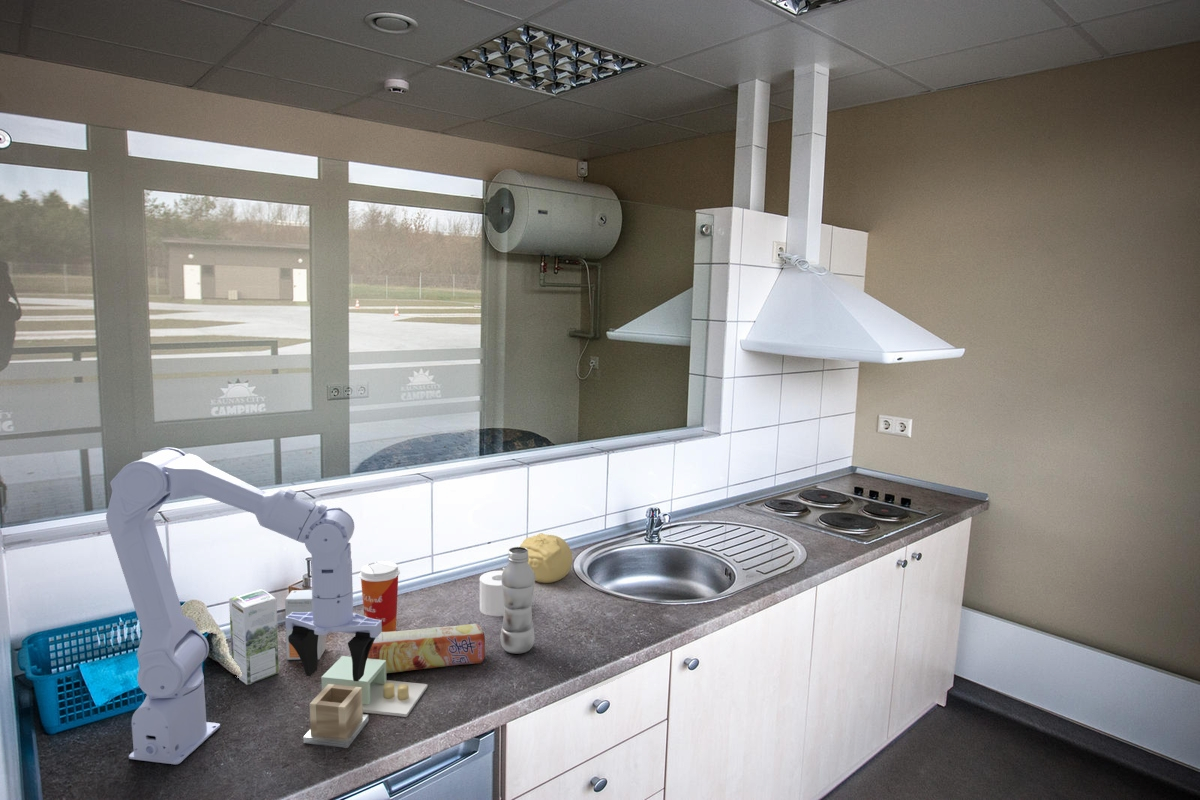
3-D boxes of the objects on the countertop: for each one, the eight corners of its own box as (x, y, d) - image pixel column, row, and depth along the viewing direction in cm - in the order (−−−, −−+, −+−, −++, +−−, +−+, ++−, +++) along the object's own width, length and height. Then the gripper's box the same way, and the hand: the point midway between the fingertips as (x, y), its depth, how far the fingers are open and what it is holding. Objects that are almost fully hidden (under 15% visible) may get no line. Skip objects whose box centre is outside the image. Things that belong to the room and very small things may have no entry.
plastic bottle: (519, 638, 143) (520, 541, 140) (541, 650, 138) (543, 551, 135) (493, 648, 138) (493, 549, 135) (514, 662, 133) (515, 559, 130)
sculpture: (512, 578, 172) (512, 535, 170) (547, 564, 181) (548, 523, 180) (546, 592, 165) (546, 547, 163) (581, 577, 174) (582, 534, 172)
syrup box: (264, 662, 131) (260, 587, 129) (280, 674, 127) (276, 596, 125) (232, 674, 127) (227, 597, 124) (247, 687, 123) (243, 607, 121)
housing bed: (406, 717, 115) (406, 703, 115) (319, 707, 117) (318, 694, 117) (427, 686, 124) (427, 674, 124) (345, 678, 126) (345, 666, 126)
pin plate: (347, 748, 107) (346, 726, 107) (303, 742, 108) (302, 721, 108) (368, 720, 114) (368, 700, 114) (327, 716, 115) (326, 695, 115)
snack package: (480, 650, 137) (480, 616, 137) (486, 666, 131) (486, 631, 130) (363, 663, 131) (363, 628, 130) (363, 681, 124) (363, 644, 124)
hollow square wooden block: (345, 738, 108) (344, 707, 107) (310, 734, 109) (309, 703, 108) (362, 716, 114) (361, 687, 113) (329, 713, 114) (328, 683, 114)
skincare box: (286, 661, 132) (283, 599, 130) (293, 649, 136) (291, 589, 134) (320, 660, 132) (318, 598, 130) (326, 648, 136) (324, 589, 135)
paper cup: (353, 634, 142) (351, 566, 140) (388, 621, 148) (386, 557, 146) (373, 648, 137) (372, 578, 135) (409, 634, 143) (407, 567, 141)
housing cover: (368, 704, 117) (367, 681, 117) (322, 699, 118) (321, 677, 118) (386, 681, 124) (386, 660, 124) (342, 677, 125) (342, 655, 125)
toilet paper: (509, 592, 164) (509, 563, 163) (521, 613, 153) (521, 583, 152) (473, 597, 161) (473, 567, 160) (483, 618, 151) (483, 587, 150)
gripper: (272, 598, 105) (275, 684, 107) (366, 606, 103) (368, 694, 105) (298, 579, 112) (301, 660, 114) (387, 586, 110) (388, 669, 112)
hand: (335, 675), depth 110 cm, fingers open, 7 cm apart
